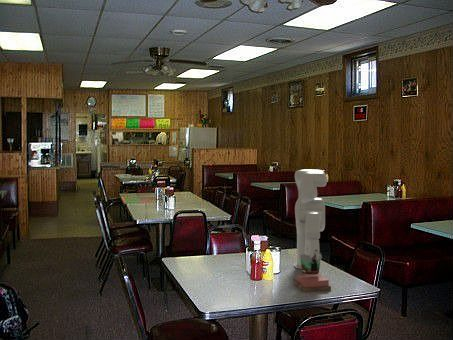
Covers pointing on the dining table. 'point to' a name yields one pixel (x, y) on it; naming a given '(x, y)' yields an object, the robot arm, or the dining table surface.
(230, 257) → the dining table surface
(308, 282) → the pink square slab
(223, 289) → the dining table surface
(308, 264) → the food container
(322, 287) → the walnut slab
